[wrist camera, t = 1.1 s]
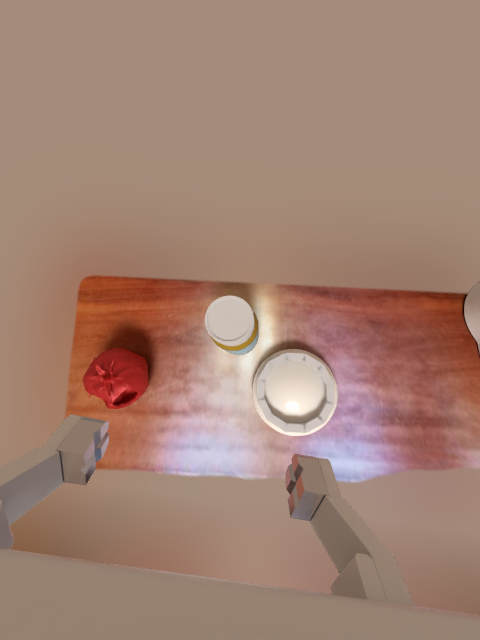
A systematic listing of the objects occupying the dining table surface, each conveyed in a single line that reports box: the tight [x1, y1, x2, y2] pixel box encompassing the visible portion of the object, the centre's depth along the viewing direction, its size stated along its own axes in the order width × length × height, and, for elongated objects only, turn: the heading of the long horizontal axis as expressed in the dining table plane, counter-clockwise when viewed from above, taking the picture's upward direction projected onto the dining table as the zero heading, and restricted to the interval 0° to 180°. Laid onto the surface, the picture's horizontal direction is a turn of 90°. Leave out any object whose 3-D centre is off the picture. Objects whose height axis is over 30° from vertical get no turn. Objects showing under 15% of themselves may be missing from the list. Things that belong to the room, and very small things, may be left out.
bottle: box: [205, 296, 258, 355], centre depth 39 cm, size 7×7×15 cm
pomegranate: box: [83, 348, 149, 409], centre depth 42 cm, size 10×10×9 cm
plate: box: [252, 349, 338, 436], centre depth 42 cm, size 14×14×2 cm
